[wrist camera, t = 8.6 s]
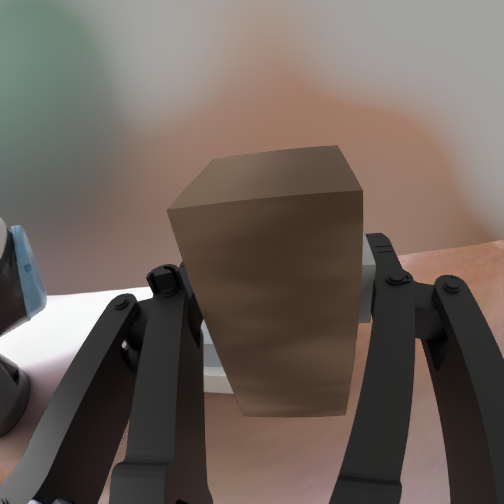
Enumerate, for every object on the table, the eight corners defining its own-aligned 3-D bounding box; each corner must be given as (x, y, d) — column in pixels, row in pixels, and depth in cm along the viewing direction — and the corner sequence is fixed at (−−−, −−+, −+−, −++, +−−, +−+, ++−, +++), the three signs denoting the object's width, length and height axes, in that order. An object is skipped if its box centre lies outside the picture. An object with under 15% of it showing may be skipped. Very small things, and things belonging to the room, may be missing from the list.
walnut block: (243, 415, 13) (166, 209, 8) (256, 343, 18) (213, 159, 12) (345, 415, 12) (362, 190, 7) (340, 340, 17) (337, 145, 11)
